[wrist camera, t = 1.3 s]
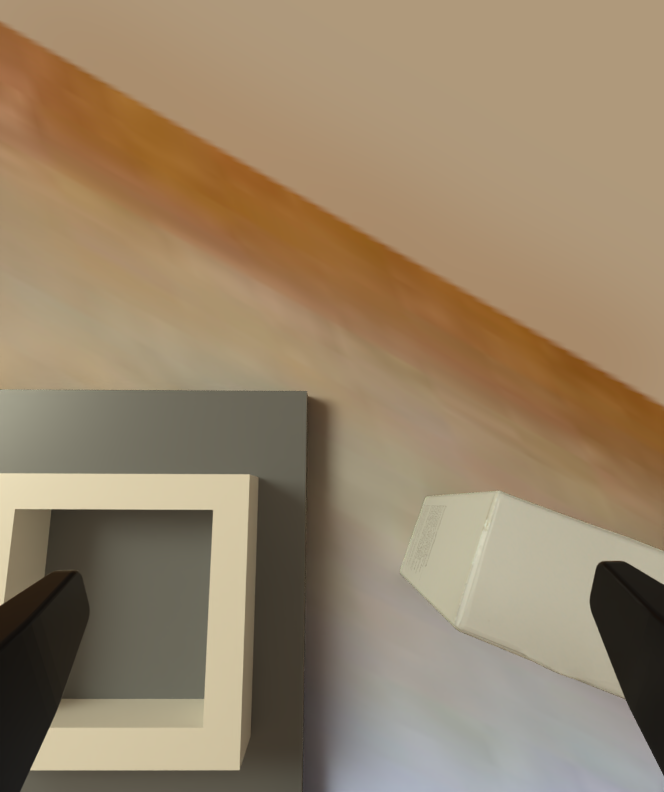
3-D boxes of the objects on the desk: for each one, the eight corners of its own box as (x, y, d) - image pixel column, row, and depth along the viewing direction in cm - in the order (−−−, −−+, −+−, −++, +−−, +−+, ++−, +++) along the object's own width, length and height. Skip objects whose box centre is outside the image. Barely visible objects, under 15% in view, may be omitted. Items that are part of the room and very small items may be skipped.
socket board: (302, 828, 24) (296, 899, 19) (-54, 829, 23) (-135, 900, 19) (307, 395, 27) (304, 377, 23) (2, 394, 27) (-56, 375, 23)
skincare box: (536, 535, 26) (707, 564, 14) (511, 619, 25) (670, 723, 14) (422, 491, 27) (497, 485, 15) (394, 573, 26) (450, 636, 14)
